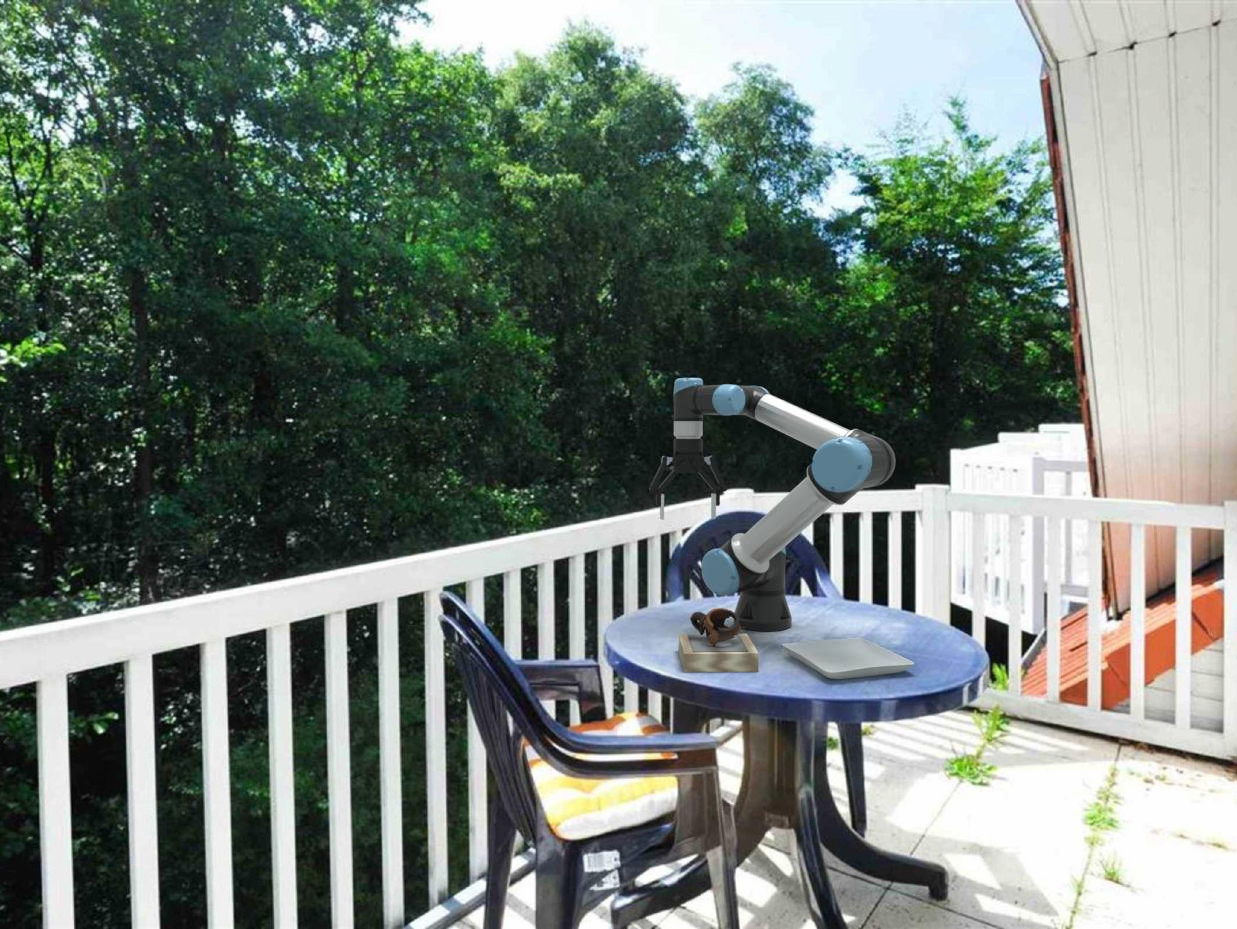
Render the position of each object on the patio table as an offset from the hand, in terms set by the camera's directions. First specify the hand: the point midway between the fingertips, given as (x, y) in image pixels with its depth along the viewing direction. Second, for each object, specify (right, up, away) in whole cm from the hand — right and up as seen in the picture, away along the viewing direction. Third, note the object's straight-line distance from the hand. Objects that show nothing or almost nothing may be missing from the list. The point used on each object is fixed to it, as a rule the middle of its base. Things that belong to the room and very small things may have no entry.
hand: (687, 518), depth 218 cm
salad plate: (+32, -31, -34) cm, 56 cm away
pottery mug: (+4, -26, -29) cm, 39 cm away
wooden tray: (+4, -30, -31) cm, 43 cm away
